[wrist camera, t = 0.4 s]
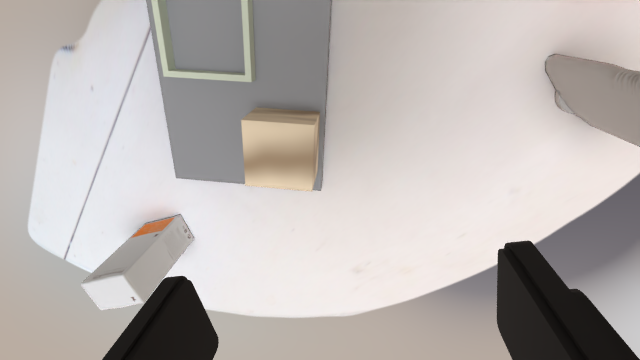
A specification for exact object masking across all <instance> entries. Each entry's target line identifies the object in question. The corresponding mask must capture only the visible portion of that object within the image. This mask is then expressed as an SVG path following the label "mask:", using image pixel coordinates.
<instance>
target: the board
mask: <svg viewBox="0 0 640 360" xmlns="http://www.w3.org/2000/svg"><path fill="white" fill-rule="evenodd" d="M146 2H147V8H148V14H149V20H150V26H151V32H152V38H153V44H154V50H155V56H156V62H157V68H158V74H159V79H160V85H161V91H162V97H163V103H164V109H165V115H166V121H167V127H168V133H169V139H170V145H171V151H172V157H173V163H174V169H175V175H176V178H181V179H193V180H204V181H215V182H227V183H238V184H245V172H244V156H243V141H242V125H241V120H242V119H243V118H244V117H245V116H246V115H248V114H249V113H250V112H251V111H252V110H253V109H255V108H256V107H257V108H272V109H286V110H300V111H315V112H320V126H319V149H318V171H317V175H316V179H315V183H314V186H313V190H318V191H321V188H322V173H323V153H324V134H325V115H326V95H327V76H328V57H329V37H330V18H331V0H252V5H253V28H254V52H255V76H256V80H255V81H253V82H240V81H224V80H209V79H193V78H177V77H164V76H163V70H162V64H161V58H160V51H159V45H158V39H157V33H156V27H155V21H154V14H153V8H152V2H151V0H146ZM166 6H167V13H168V20H169V26H170V33H171V40H172V47H173V54H174V61H175V68H176V69H185V70H201V71H217V72H233V73H245V61H244V43H243V25H242V7H241V0H166Z"/></svg>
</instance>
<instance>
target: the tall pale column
mask: <svg viewBox="0 0 640 360" xmlns="http://www.w3.org/2000/svg"><path fill="white" fill-rule="evenodd" d="M545 71H546V73H547V74H548V76H549V78H550V80H551V82H552V84H553V86H554V87H555V89H556V94H555V102H556V104H557V106H558V107H559V108H560V109H561V110H563V111H565V112H568V113H571V114H576V115H577V116H579V117H581V118H582V119H583V120H585V121H586V122H587V123H588V124H589V125H591V126H593V127H595V128H598V129H600V130H602V131H605V132H607V133H609V134H611V135H614V136H616V137H618V138H621V139H623V140H625V141H627V142H630V143H632V144H634V145H637V146H639V147H640V72H638V71H632V70H628V69H625V68H622V67H619V66H617V65H613V64H609V63H604V62H598V61H593V60H587V59H581V58H575V57H569V56H563V55H557V54H554V55H551V56H549V57H548V59H547V60H546V65H545Z"/></svg>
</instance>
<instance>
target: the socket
mask: <svg viewBox="0 0 640 360" xmlns="http://www.w3.org/2000/svg"><path fill="white" fill-rule="evenodd" d="M151 2H152V8H153V14H154V21H155V27H156V33H157V39H158V45H159V51H160V58H161V64H162V70H163V76H164V77H177V78H193V79H209V80H224V81H240V82H253V81H255V80H256V76H255V52H254V28H253V5H252V0H241V7H242V25H243V43H244V61H245V73H233V72H217V71H201V70H185V69H176V68H175V61H174V54H173V47H172V40H171V33H170V26H169V20H168V13H167V6H166V0H151Z"/></svg>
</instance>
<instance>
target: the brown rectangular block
mask: <svg viewBox="0 0 640 360" xmlns="http://www.w3.org/2000/svg"><path fill="white" fill-rule="evenodd" d="M241 125H242V141H243V156H244V172H245V186H256V187H267V188H278V189H290V190H301V191H312V190H313V186H314V183H315V179H316V175H317V171H318V149H319V126H320V112H315V111H300V110H286V109H272V108H257V107H256V108H255V109H253V110H252V111H251V112H250V113H249V114H248V115H246V116H245V117H244V118H243V119H242V120H241Z"/></svg>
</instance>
